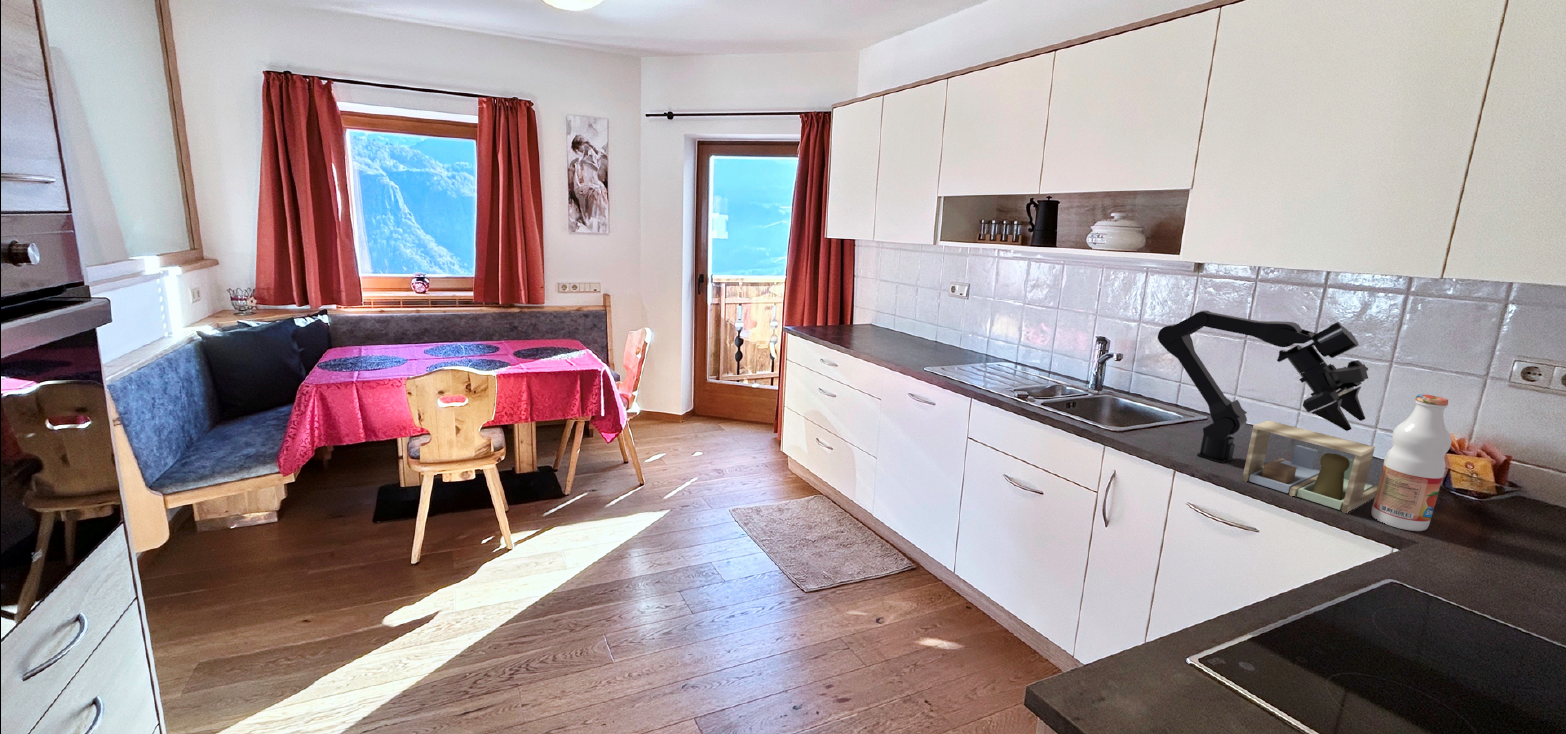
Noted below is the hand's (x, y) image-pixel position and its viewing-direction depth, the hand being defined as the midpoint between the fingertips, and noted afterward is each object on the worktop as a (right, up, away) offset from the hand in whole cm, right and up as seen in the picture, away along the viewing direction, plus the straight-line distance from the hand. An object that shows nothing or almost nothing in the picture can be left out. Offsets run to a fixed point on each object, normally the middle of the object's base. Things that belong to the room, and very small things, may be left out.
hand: (1356, 424), depth 160 cm
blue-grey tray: (-10, -14, +9) cm, 20 cm away
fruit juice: (-2, -20, -13) cm, 24 cm away
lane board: (-7, -15, +5) cm, 18 cm away
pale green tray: (-5, -17, +1) cm, 17 cm away
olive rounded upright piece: (-9, -17, -2) cm, 20 cm away
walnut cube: (-15, -15, +6) cm, 22 cm away
